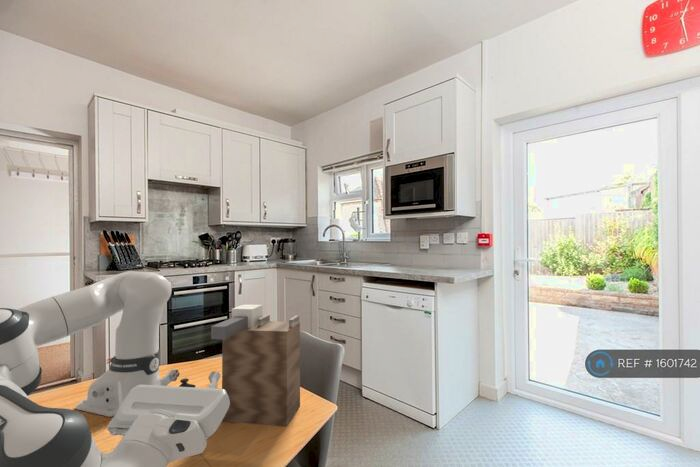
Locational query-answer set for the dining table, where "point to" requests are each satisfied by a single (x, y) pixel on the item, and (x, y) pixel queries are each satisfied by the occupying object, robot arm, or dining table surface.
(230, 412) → the brown wood grain box
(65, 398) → the dining table surface
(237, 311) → the grey and white block
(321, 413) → the dining table surface
